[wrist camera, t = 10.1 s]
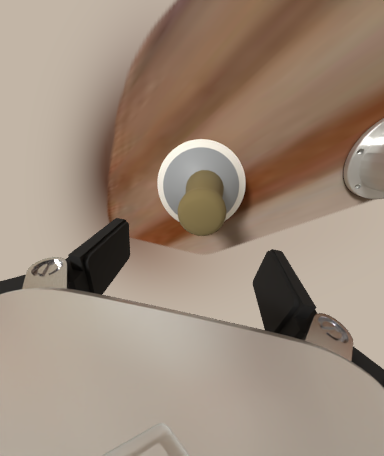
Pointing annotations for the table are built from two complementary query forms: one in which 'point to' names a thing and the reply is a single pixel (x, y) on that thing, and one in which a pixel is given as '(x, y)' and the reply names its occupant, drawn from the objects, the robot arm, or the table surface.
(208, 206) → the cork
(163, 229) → the table surface
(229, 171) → the podium
